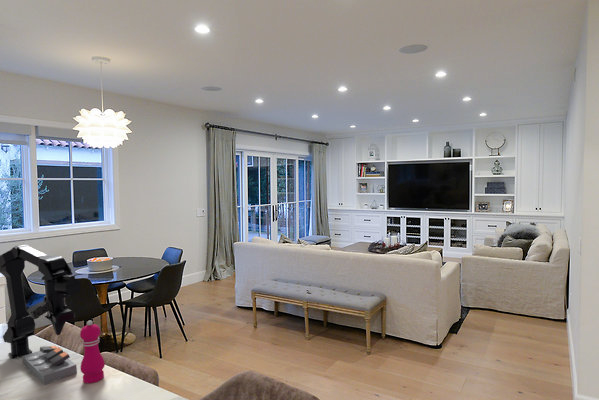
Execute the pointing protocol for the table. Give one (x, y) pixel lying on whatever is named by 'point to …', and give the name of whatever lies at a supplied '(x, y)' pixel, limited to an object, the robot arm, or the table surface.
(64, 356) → the rocker outer
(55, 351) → the rocker middle
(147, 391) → the table surface
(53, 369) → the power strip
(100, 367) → the pepper mill
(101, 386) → the table surface
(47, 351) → the rocker inner
